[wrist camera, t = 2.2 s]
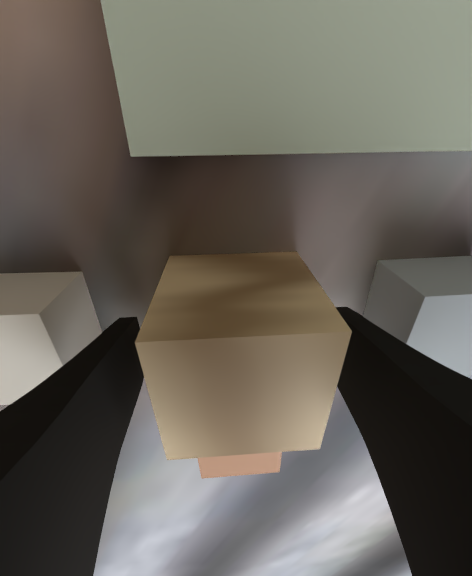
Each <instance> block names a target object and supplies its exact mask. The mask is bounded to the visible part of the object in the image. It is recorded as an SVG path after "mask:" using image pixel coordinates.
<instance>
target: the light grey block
mask: <svg viewBox="0 0 472 576" xmlns="http://www.w3.org/2000/svg"><path fill="white" fill-rule="evenodd" d="M101 333H102V330H101V327H100V324H99V321H98V318H97V315H96V312H95V309H94V306H93V303H92V300H91V297H90V294H89V291H88V288H87V285H86V282H85V279H84V276H83V273H82V272H43V273H3V274H0V405H10V404H12V403H13V402H15V401H16V400H18V399H19V398H21V397H22V396H24V395H25V394H26V393H28V392H29V391H31V390H32V389H33V388H35V387H36V386H37V385H39V384H40V383H41V382H43V381H44V380H45V379H47V378H48V377H49V376H50V375H52V374H53V373H54V372H56V371H57V370H58V369H59V368H61V367H62V366H63V365H64V364H66V363H67V362H68V361H69V360H71V359H72V358H73V357H74V356H76V355H77V354H78V353H79V352H80V351H81V350H83V349H84V348H85V347H86V346H87V345H89V344H90V343H91V342H92V341H93V340H94V339H96V338H97V337H98V336H99V335H100V334H101Z"/></svg>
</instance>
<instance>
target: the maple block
mask: <svg viewBox="0 0 472 576" xmlns="http://www.w3.org/2000/svg"><path fill="white" fill-rule="evenodd" d="M351 334H352V331H351V329H350V328H349V326H348V325H347V323H346V322H345V321H344V319H343V318H342V316H341V315H340V313H339V312H338V310H337V309H336V308H335V306H334V305H333V303H332V302H331V300H330V299H329V297H328V296H327V295H326V293H325V292H324V290H323V289H322V287H321V286H320V285H319V283H318V282H317V280H316V279H315V277H314V276H313V274H312V273H311V272H310V270H309V269H308V267H307V266H306V264H305V263H304V261H303V260H302V259H301V257H300V256H299V254H298V253H297V251H293V252H265V253H236V254H208V255H180V256H169V259H168V261H167V264H166V266H165V269H164V271H163V274H162V276H161V279H160V281H159V283H158V286H157V288H156V291H155V293H154V296H153V298H152V301H151V303H150V306H149V308H148V311H147V313H146V316H145V318H144V321H143V323H142V326H141V328H140V331H139V333H138V336H137V338H136V341H135V345H136V349H137V352H138V356H139V360H140V363H141V367H142V370H143V374H144V378H145V381H146V385H147V389H148V392H149V396H150V400H151V403H152V407H153V410H154V414H155V418H156V421H157V425H158V429H159V432H160V436H161V439H162V443H163V447H164V450H165V454H166V458H167V460H175V459H189V458H203V457H217V456H230V455H244V454H258V453H272V452H286V451H300V450H313V449H320V446H321V443H322V439H323V435H324V432H325V428H326V424H327V421H328V417H329V413H330V410H331V406H332V403H333V399H334V395H335V392H336V388H337V384H338V381H339V377H340V373H341V370H342V366H343V363H344V359H345V355H346V352H347V348H348V344H349V341H350V337H351Z"/></svg>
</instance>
